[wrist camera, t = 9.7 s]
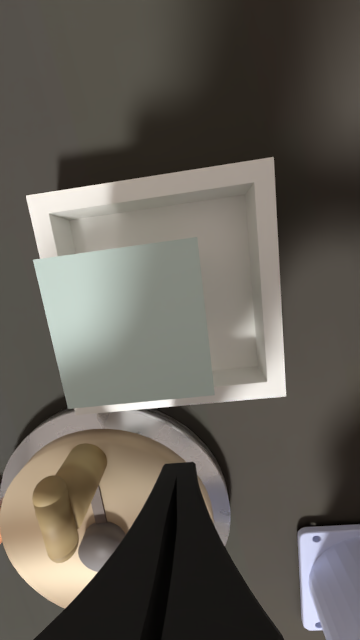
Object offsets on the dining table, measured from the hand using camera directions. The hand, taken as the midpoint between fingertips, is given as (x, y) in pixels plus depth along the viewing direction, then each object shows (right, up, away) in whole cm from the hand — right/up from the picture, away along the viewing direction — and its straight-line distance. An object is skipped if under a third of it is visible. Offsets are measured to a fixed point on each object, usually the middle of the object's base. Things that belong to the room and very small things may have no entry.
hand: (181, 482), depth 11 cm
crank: (-4, -4, +4) cm, 7 cm away
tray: (-1, +8, +3) cm, 9 cm away
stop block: (-1, +8, +2) cm, 9 cm away
